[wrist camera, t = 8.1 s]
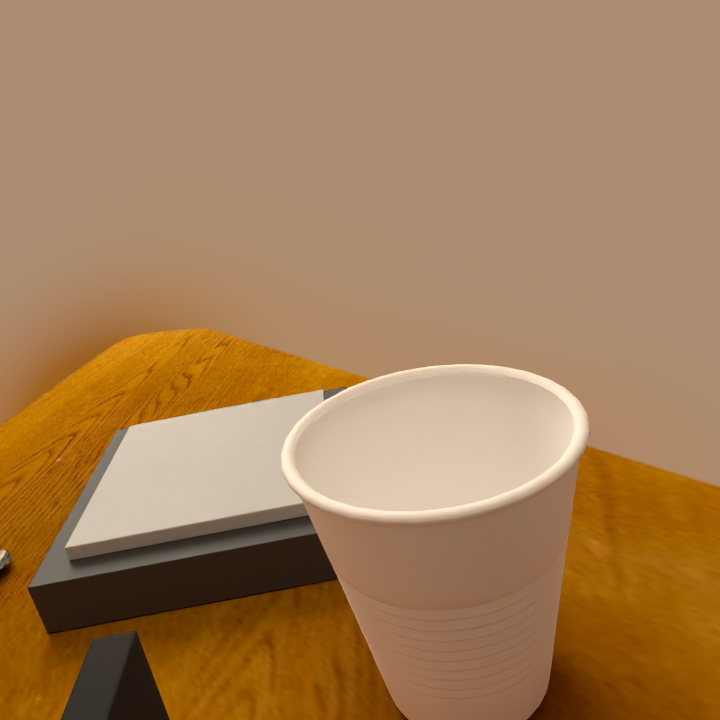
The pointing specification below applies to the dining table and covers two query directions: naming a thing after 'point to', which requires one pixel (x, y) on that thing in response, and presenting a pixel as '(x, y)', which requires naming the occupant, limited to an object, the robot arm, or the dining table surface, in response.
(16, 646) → the dining table surface
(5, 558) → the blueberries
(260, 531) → the scale
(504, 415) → the cup
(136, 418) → the dining table surface
